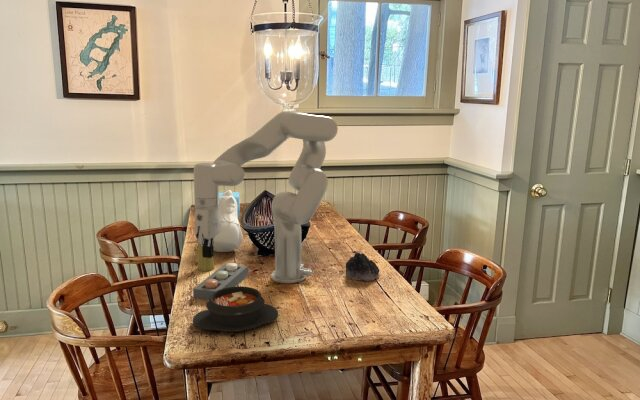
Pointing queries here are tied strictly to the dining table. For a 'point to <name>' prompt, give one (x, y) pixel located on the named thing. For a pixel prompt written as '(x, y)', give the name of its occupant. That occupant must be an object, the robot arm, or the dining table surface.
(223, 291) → the casserole
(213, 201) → the robot arm
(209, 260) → the vase
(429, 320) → the dining table surface
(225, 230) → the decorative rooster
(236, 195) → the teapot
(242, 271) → the button panel
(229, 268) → the cream rounded piece
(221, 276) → the sage button
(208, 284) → the terracotta button
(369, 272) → the crystal cluster
